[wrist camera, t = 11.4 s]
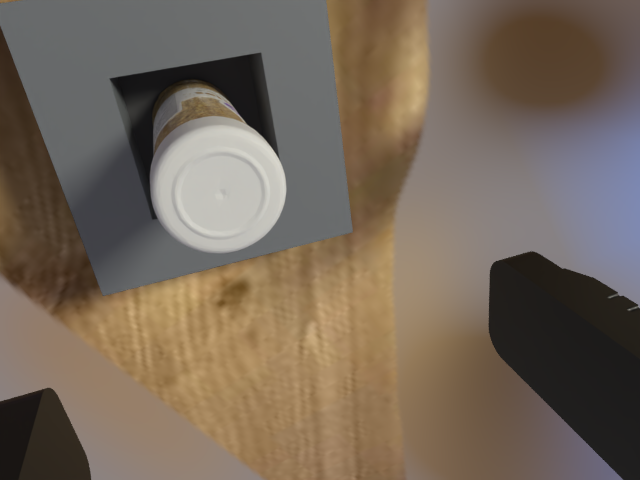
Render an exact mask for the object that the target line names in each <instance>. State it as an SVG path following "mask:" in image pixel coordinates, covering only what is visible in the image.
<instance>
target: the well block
mask: <svg viewBox="0 0 640 480" xmlns="http://www.w3.org/2000/svg"><path fill="white" fill-rule="evenodd" d="M0 26H1V29H2V31H3V34H4V37H5V39H6V42H7V45H8V47H9V50H10V52H11V55H12V58H13V60H14V63H15V66H16V68H17V71H18V73H19V76H20V79H21V81H22V84H23V87H24V89H25V92H26V95H27V97H28V100H29V102H30V105H31V108H32V110H33V113H34V116H35V118H36V121H37V123H38V126H39V129H40V131H41V134H42V137H43V139H44V142H45V145H46V147H47V150H48V152H49V155H50V158H51V160H52V163H53V166H54V168H55V171H56V173H57V176H58V179H59V181H60V184H61V187H62V189H63V192H64V195H65V197H66V200H67V202H68V205H69V208H70V210H71V213H72V216H73V218H74V221H75V224H76V226H77V229H78V231H79V234H80V237H81V239H82V242H83V245H84V247H85V250H86V252H87V255H88V258H89V260H90V263H91V266H92V268H93V271H94V274H95V276H96V279H97V281H98V284H99V287H100V289H101V292H102V295H103V296H105V295H109V294H113V293H117V292H121V291H124V290H128V289H132V288H136V287H140V286H144V285H148V284H152V283H156V282H160V281H164V280H168V279H171V278H175V277H179V276H183V275H187V274H191V273H195V272H199V271H203V270H207V269H211V268H215V267H218V266H222V265H226V264H230V263H234V262H238V261H242V260H246V259H250V258H254V257H258V256H262V255H265V254H269V253H273V252H277V251H281V250H285V249H289V248H293V247H297V246H301V245H305V244H309V243H312V242H316V241H320V240H324V239H328V238H332V237H336V236H340V235H344V234H348V233H352V232H353V231H352V222H351V213H350V205H349V196H348V187H347V179H346V170H345V161H344V152H343V144H342V135H341V126H340V117H339V109H338V100H337V91H336V83H335V74H334V65H333V56H332V48H331V39H330V30H329V22H328V13H327V4H326V0H22V1H15V2H7V3H0ZM187 79H198V80H202V81H206V82H209V83H211V84H213V85H214V86H216V87H217V88H219V89H220V90H221V91H222V92H223V93H224V94H225V95H226V96H227V97H228V99H229V100H230V102H231V104H232V106H233V107H234V108H235V110H236V111H237V112H238V114H239V115H240V116H241V118H242V119H243V120H244V121H245V123H246V124H247V125H248V126H250V127H251V128H253V129H254V130H256V131H257V132H258V133H259V134H260V135H261V136H262V137H263V138H264V139H265V140H266V141H267V143H268V144H269V145H270V146H271V148H272V149H273V150H274V152H275V153H276V155H277V157H278V158H279V160H280V162H281V165H282V167H283V170H284V174H285V179H286V197H285V203H284V206H283V209H282V212H281V214H280V216H279V218H278V220H277V222H276V223H275V225H274V226H273V227H272V229H271V230H270V231H269V232H268V233H267V234H266V235H265V236H264V237H263V238H261V239H260V240H259V241H257V242H255V243H254V244H252V245H250V246H248V247H246V248H244V249H241V250H238V251H234V252H229V253H206V252H201V251H198V250H195V249H192V248H190V247H187V246H185V245H183V244H182V243H180V242H179V241H177V240H176V239H174V238H173V237H172V236H171V235H170V234H169V233H168V232H167V231H166V230H165V229H164V227H163V226H162V225H161V223H160V222H159V220H158V218H157V216H156V213H155V211H154V208H153V205H152V200H151V192H150V170H151V164H152V160H153V157H154V153H153V150H154V146H153V128H154V127H153V123H152V112H153V108H154V105H155V102H156V101H157V99H158V97H159V95H160V93H161V92H163V91H164V90H165V89H166V88H167V87H169V86H170V85H172V84H174V83H176V82H179V81H181V80H187Z"/></svg>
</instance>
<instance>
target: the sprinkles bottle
mask: <svg viewBox="0 0 640 480" xmlns="http://www.w3.org/2000/svg"><path fill="white" fill-rule="evenodd" d="M152 123H153V127H154V128H153V146H154V150H153V153H154V157H153V160H152V164H151V170H150V192H151V200H152V205H153V208H154V211H155V213H156V216H157V218H158V220H159V222H160V223H161V225H162V226H163V227H164V229H165V230H166V231H167V232H168V233H169V234H170V235H171V236H172V237H173V238H174V239H176V240H177V241H179V242H180V243H182V244H183V245H185V246H187V247H190V248H192V249H195V250H198V251H201V252H206V253H229V252H234V251H238V250H241V249H244V248H246V247H248V246H250V245H252V244H254V243H255V242H257V241H259V240H260V239H261V238H263V237H264V236H265V235H266V234H267V233H268V232H269V231H270V230H271V229H272V227H273V226H274V225H275V223H276V222H277V220H278V218H279V216H280V214H281V212H282V209H283V206H284V203H285V197H286V179H285V174H284V170H283V167H282V165H281V162H280V160H279V158H278V157H277V155H276V153H275V152H274V150H273V149H272V148H271V146H270V145H269V144H268V143H267V141H266V140H265V139H264V138H263V137H262V136H261V135H260V134H259V133H258V132H257V131H256V130H254V129H253V128H251V127H250V126H248V125H247V124H246V123H245V121H244V120H243V119H242V118H241V116H240V115H239V114H238V112H237V111H236V110H235V108H234V107H233V106H232V104H231V102H230V100H229V99H228V97H227V96H226V95H225V94H224V93H223V92H222V91H221V90H220V89H219V88H217V87H216V86H214V85H213V84H211V83H209V82H206V81H202V80H198V79H187V80H181V81H179V82H176V83H174V84H172V85H170V86H169V87H167V88H166V89H165V90H164V91H163V92H161V93H160V95H159V97H158V99H157V101H156V102H155V105H154V108H153V112H152Z"/></svg>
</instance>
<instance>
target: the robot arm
mask: <svg viewBox="0 0 640 480" xmlns="http://www.w3.org/2000/svg"><path fill="white" fill-rule="evenodd" d="M489 294H490V295H489V333H490V337H491V340H492V343H493V345H494V347H495V349H496V351H497V353H498V354H499V356H500V357H501V358H502V359H503V360H504V361H505V362H506V363H507V364H508V365H509V366H510V367H511V368H512V369H513V370H514V371H515V372H516V373H517V374H518V375H519V376H520V377H521V378H522V379H523V380H524V381H525V382H526V383H527V384H528V385H529V386H530V387H531V388H532V389H533V390H534V391H535V392H536V393H537V394H538V395H539V396H540V397H541V398H542V399H543V400H544V401H545V402H546V403H547V404H548V405H549V406H550V407H551V408H552V409H553V410H554V411H555V412H556V413H557V414H558V415H559V416H560V417H561V418H562V419H563V420H564V421H565V422H566V423H567V424H568V425H569V426H570V427H571V428H572V429H573V430H574V431H575V432H576V433H577V434H578V435H579V436H580V437H581V438H582V439H583V440H584V441H585V442H586V443H587V444H588V445H589V446H590V447H591V448H592V449H593V450H594V451H595V452H596V453H597V454H598V455H599V456H600V457H601V458H602V459H603V460H604V461H605V462H606V463H607V464H608V465H609V466H610V467H611V468H612V469H613V470H614V471H615V472H616V473H617V474H618V475H619V476H620V477H621V478H622V479H623V480H640V308H639V307H638V304H636V303H634V302H633V301H631V300H629V299H628V298H626V297H624V296H619V295H618V292H616V291H614V290H613V289H611V288H609V287H608V286H606V285H605V284H603V283H601V282H600V281H598V280H596V279H595V278H592V277H589V276H586V275H583V274H580V273H577V272H574V271H571V270H567V269H562V268H560V267H559V266H557V265H556V264H554V263H553V262H551V261H550V260H548V259H546V258H545V257H543V256H541V255H540V254H538V253H536V252H527V253H523V254H520V255H516V256H513V257H509V258H506V259H503V260H499V261H496V262H494V263H493V265H492V266H491V270H490V293H489ZM0 480H91V474H90V468H89V463H88V460H87V456H86V454H85V451H84V450H83V447H82V445H81V443H80V441H79V439H78V437H77V435H76V433H75V431H74V429H73V426H72V424H71V422H70V420H69V418H68V416H67V414H66V412H65V410H64V408H63V405H62V403H61V401H60V400H59V397H58V395H57V394H56V393H55V391H54V390H53V389H51V388H46V389H42V390H39V391H36V392H32V393H28V394H25V395H22V396H18V397H14V398H11V399H8V400H4V401H0Z"/></svg>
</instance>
